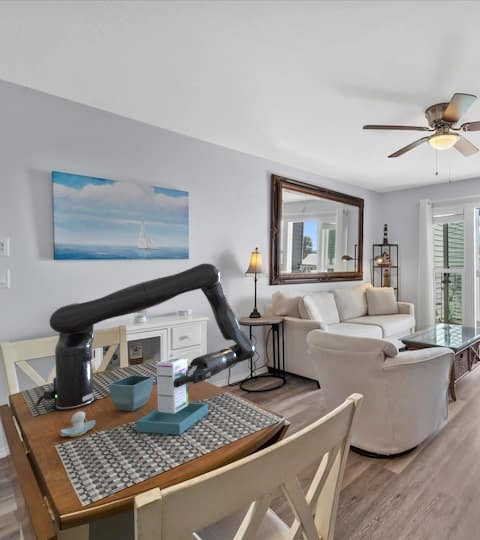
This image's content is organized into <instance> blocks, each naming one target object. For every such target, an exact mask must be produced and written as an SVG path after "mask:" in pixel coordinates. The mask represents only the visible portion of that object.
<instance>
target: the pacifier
mask: <svg viewBox="0 0 480 540" xmlns="http://www.w3.org/2000/svg"><path fill="white" fill-rule="evenodd" d="M85 418H86V413H85V412H84V411H77V412H75V413H74V414H73V415H72V416H71V418H70V421H71V423H72V425H73V426H71V427H68V428H63V429H61V430H60V433H61V434H60V436H61V437H70V438H75V437H79V436H81V435H84V434H86V433H87V431H89V430H91V429H92V428H93V427H94V426H95V425H96V420H95V419H91V420H89V421H85V422H84V420H85Z"/></svg>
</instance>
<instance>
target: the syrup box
mask: <svg viewBox="0 0 480 540" xmlns="http://www.w3.org/2000/svg"><path fill="white" fill-rule="evenodd" d="M187 365H188V358H186V357H180V356H171V357H169V358H167V359H164V360H162V361H159V362H156V378H157V384H156V389H157V409H158V412H163V413H173V414H175V413H176V412H178V411H179V410H181V409H183V408H184V407H186V406H188V405H189V403H190V402H189V401H190V400H189V384H184V385H182V386H179V387H177V388H176V387H174V380H175V379H178V378H180V377H183V376H186V375H187V374H188V368H187Z"/></svg>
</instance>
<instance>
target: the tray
mask: <svg viewBox="0 0 480 540" xmlns="http://www.w3.org/2000/svg"><path fill="white" fill-rule="evenodd" d="M208 414H209V403H202V402H201V403H200V402H189V405H188V406H186V407H184V408H183V409H181V410H179V411H178V412H176V413H175V414H173V413H163V412H158V408H156V409H154V410H152V411H151V412H149V413H147V414H146V415H144V416H142V417H141V418H138V419H137V420H136V421H135V433H149V434H150V433H151V434H163V435H164V434H165V435H176V436H177V435H178V436H180V435H181V434H183V433H184V432H185V431H187V430H188V429H189V428H191V427H192V426H193V425H194V424H196V423H197V422H199V421H200V420H201V419H203V418H204V417H205V416H206V415H208Z"/></svg>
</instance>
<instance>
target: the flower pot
mask: <svg viewBox="0 0 480 540" xmlns="http://www.w3.org/2000/svg"><path fill="white" fill-rule="evenodd" d="M153 383H154V376H151V375H135V374H132V375H128V376H126V377H123V378H120V379H117V380H115V381H112V382H111V383H108V389H109V395H110V400H111V402H112V404H113V405H114V407H115V408H116V409H118V410H119V411H129V412H133V411H135V410H137V409H139V408H141V407H143V406H145V405H146V404H147V402H148V401H149V398H150V396H151V394H152V390H153Z"/></svg>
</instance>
